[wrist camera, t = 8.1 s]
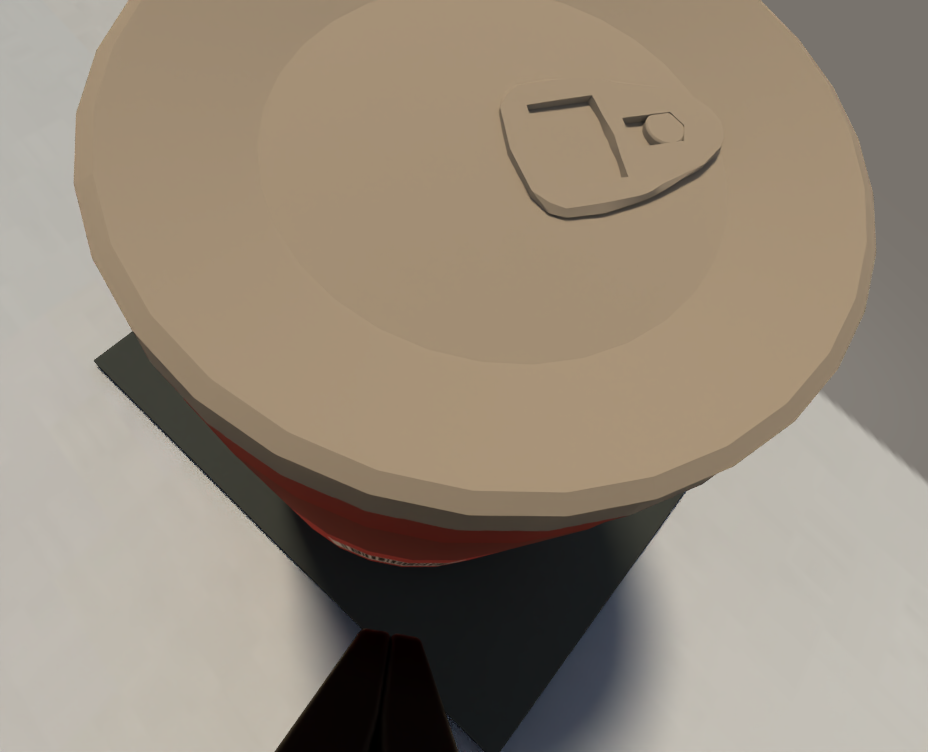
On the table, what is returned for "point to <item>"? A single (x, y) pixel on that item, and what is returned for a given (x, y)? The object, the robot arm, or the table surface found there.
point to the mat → (429, 576)
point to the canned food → (476, 249)
